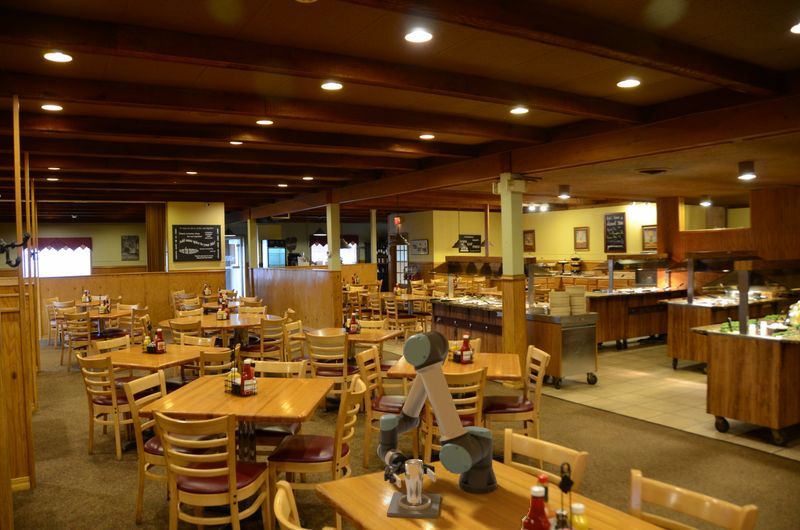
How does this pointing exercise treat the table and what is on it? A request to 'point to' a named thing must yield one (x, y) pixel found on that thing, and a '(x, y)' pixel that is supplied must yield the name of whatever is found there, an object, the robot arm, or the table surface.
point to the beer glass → (414, 481)
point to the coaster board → (422, 511)
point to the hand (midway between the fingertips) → (417, 481)
